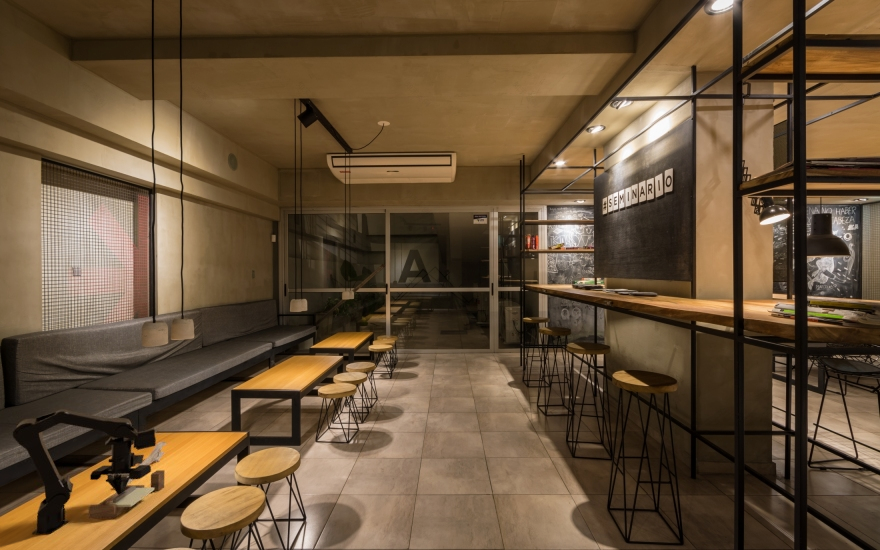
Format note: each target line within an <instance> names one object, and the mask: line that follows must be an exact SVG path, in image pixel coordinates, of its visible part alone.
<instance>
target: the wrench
mask: <svg viewBox="0 0 880 550" xmlns="http://www.w3.org/2000/svg"><path fill="white" fill-rule="evenodd" d="M166 445H167V442H166V441H159V442H157V443H156V444H155V446H154V448H153V449H152V451H151V453H150V454H149V455H148V456H147V457H146V458H145V459H144V460H142V463H141V464H140V463H138V465H136V467H138V466H140V465H151V464H152V463H153V462H154V463H158V462H160V460H161V458H162V457H163V456H164V454H165V451H162V448H163V446H166ZM133 480H134V479H129V481H128V483H127V485H130V483H131V482H132V481H133Z"/></svg>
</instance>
